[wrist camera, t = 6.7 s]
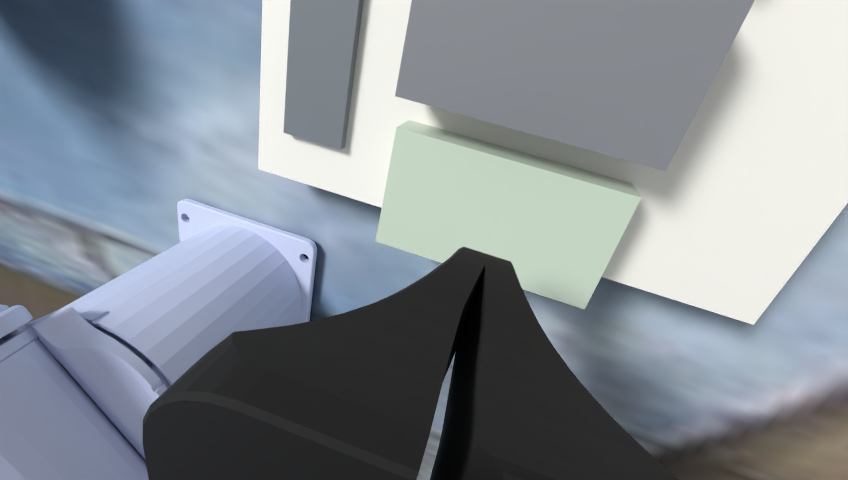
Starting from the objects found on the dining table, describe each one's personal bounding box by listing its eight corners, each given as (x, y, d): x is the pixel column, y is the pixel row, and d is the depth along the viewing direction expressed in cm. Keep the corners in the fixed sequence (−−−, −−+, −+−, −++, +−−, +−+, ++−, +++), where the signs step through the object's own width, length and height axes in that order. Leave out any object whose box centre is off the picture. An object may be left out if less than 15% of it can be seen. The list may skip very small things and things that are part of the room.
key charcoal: (653, 157, 13) (665, 171, 11) (408, 90, 14) (395, 96, 12) (733, -5, 11) (760, -11, 9) (439, -69, 12) (426, -83, 10)
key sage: (581, 287, 16) (584, 309, 15) (388, 225, 17) (375, 241, 16) (632, 183, 14) (641, 197, 13) (409, 119, 15) (396, 127, 14)
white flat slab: (726, 288, 17) (758, 331, 15) (289, 154, 20) (252, 171, 17) (1032, -151, 11) (1185, -212, 8) (316, -269, 13) (261, -343, 11)
